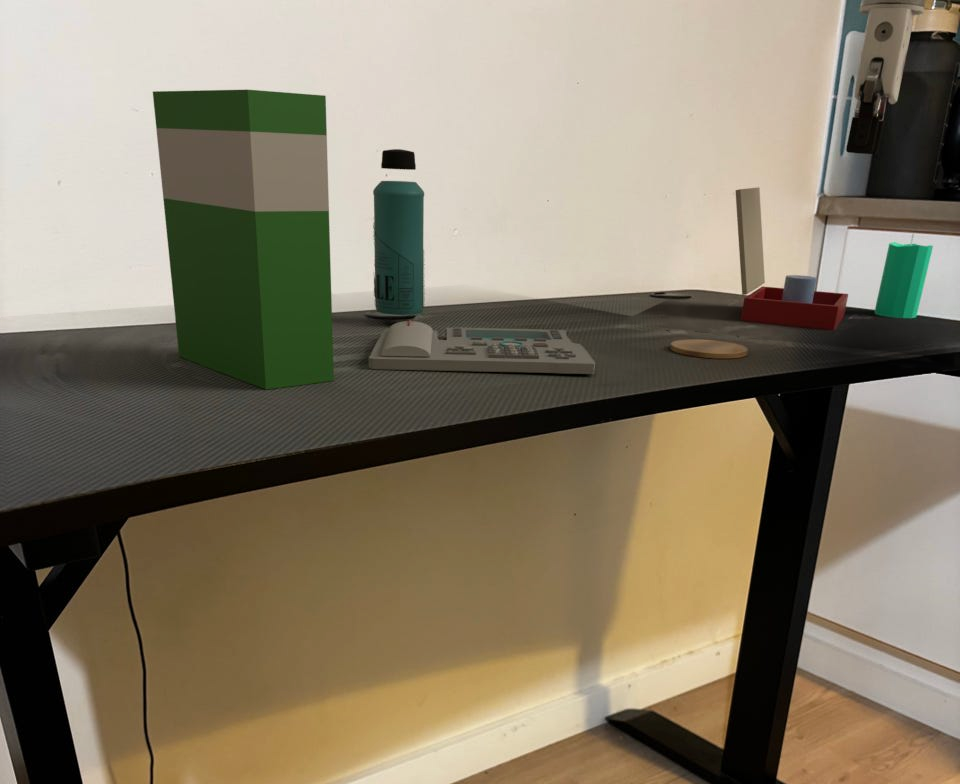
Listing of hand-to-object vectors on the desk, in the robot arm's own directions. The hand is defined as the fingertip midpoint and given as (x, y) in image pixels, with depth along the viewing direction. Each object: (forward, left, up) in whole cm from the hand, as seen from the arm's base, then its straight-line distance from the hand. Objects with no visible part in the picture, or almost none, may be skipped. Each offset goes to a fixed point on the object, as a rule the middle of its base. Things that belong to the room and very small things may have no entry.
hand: (861, 153), depth 127 cm
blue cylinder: (+5, +2, -21) cm, 22 cm away
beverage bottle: (+50, +37, -22) cm, 66 cm away
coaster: (+11, +32, -22) cm, 40 cm away
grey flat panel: (+12, +2, -11) cm, 17 cm away
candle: (-8, -12, -22) cm, 27 cm away
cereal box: (+49, +70, -22) cm, 88 cm away
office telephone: (+33, +50, -22) cm, 63 cm away
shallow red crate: (+5, +2, -22) cm, 22 cm away
